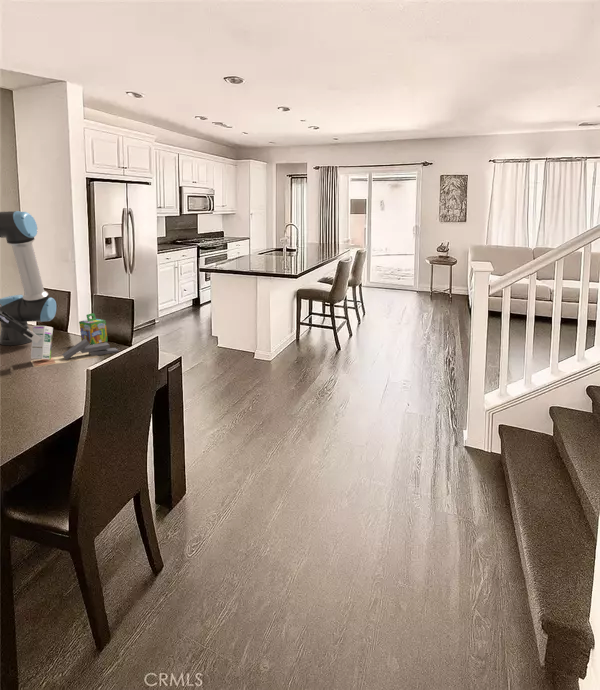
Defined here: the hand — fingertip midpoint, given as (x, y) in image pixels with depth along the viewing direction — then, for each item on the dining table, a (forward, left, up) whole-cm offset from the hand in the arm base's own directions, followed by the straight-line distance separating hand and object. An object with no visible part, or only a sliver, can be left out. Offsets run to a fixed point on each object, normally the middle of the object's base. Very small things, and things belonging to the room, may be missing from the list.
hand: (38, 340), depth 225 cm
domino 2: (0, +16, -7) cm, 18 cm away
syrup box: (-1, 0, -9) cm, 9 cm away
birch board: (0, +9, -11) cm, 14 cm away
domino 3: (0, +20, -9) cm, 22 cm away
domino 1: (0, +9, -9) cm, 13 cm away
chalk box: (-24, +27, -11) cm, 38 cm away
